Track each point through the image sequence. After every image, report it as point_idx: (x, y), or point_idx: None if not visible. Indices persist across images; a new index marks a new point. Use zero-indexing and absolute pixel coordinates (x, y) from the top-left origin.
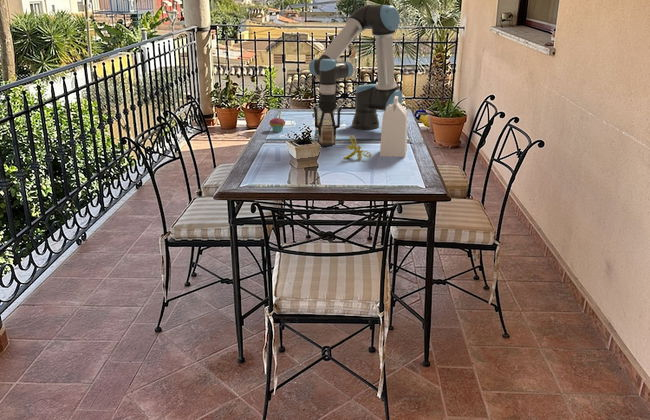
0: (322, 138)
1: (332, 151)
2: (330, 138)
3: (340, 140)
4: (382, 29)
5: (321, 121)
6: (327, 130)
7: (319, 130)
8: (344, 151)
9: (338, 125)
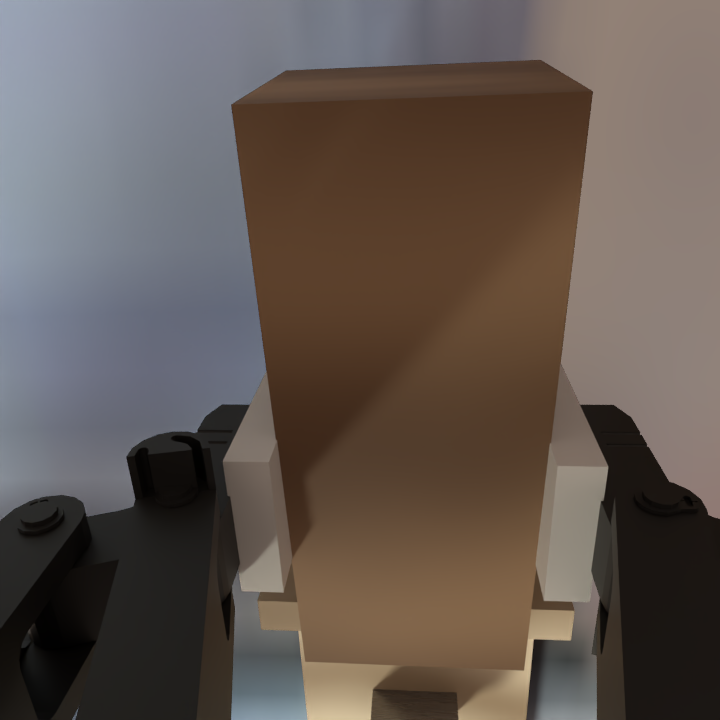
0: (547, 66)
1: (306, 27)
2: (315, 78)
3: (241, 661)
4: None
5: (682, 688)
6: (405, 482)
7: (639, 474)
8: (84, 45)
9: (21, 546)
